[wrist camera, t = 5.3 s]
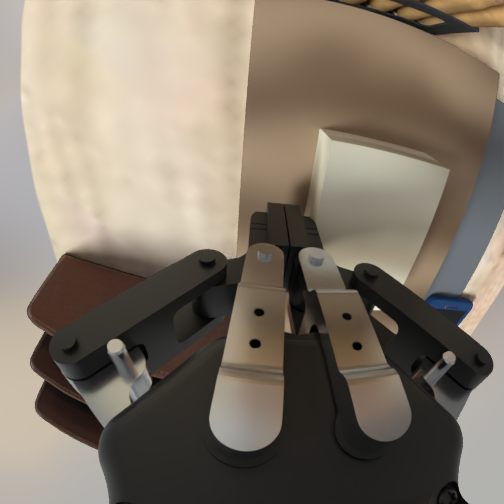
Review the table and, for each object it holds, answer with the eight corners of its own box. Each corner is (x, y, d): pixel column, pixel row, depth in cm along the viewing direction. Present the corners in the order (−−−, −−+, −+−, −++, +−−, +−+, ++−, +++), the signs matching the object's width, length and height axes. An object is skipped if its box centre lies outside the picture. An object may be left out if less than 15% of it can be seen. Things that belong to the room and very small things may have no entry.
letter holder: (241, 362, 31) (234, 482, 19) (77, 317, 28) (31, 421, 16) (270, 306, 25) (271, 466, 14) (64, 250, 22) (-16, 373, 11)
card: (319, 128, 12) (331, 140, 10) (425, 153, 12) (450, 169, 10) (290, 276, 17) (294, 306, 15) (378, 283, 18) (389, 310, 15)
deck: (257, 9, 12) (255, -9, 8) (462, 67, 12) (499, 73, 8) (236, 300, 24) (232, 337, 21) (385, 307, 25) (397, 340, 21)
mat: (460, 79, 12) (462, 79, 12) (527, 121, 12) (529, 121, 12) (389, 300, 24) (389, 301, 24) (455, 300, 24) (456, 301, 24)
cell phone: (367, 371, 31) (368, 376, 31) (430, 293, 23) (433, 298, 22) (410, 370, 32) (411, 374, 31) (473, 299, 24) (476, 303, 23)
